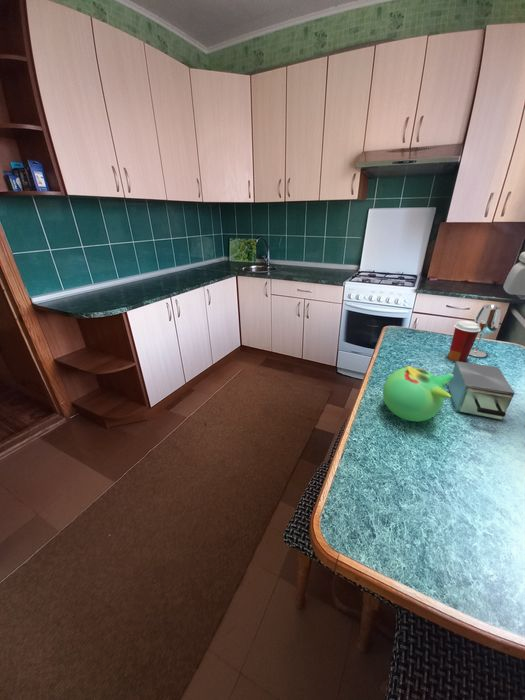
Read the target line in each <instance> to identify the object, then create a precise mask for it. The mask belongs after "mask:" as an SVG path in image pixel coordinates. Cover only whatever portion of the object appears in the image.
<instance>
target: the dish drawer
mask: <svg viewBox="0 0 525 700" xmlns="http://www.w3.org/2000/svg"><path fill="white" fill-rule="evenodd" d="M511 399H513V398H512V396H511V395H507V394H504V393H498V392H492V391H483V390H476V389H474V388H467V390H466V393H465V395H464V398H463V401H462V403H461V406H460V409H459V410H460V412H459V413H464V412H465V413H464V414H469V413H470V415H474V414H475V415H474V416H479V415H481V417H485V416H486V417H485V418H490V417H491V418H490V419H495V418H497V419H496V420H500V419H502V418H503V419H504V418H505V417H506V412H507V410H508V409H509V406H510V404H511V402H510V401H512V400H511ZM503 419H502V420H503Z"/></svg>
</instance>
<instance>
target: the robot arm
mask: <svg viewBox="0 0 525 700" xmlns="http://www.w3.org/2000/svg"><path fill="white" fill-rule="evenodd" d="M518 260H519V261H520V262H517V263H516V264H514V265H513V266H512V268H511V269H510V271H509V273H508V275H507V276H506V279H505V281H504V283H503V290H504V291H505V293H506V294H508V295H517V296H525V251H522V252H521V253H520V254H519V257H518Z"/></svg>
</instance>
